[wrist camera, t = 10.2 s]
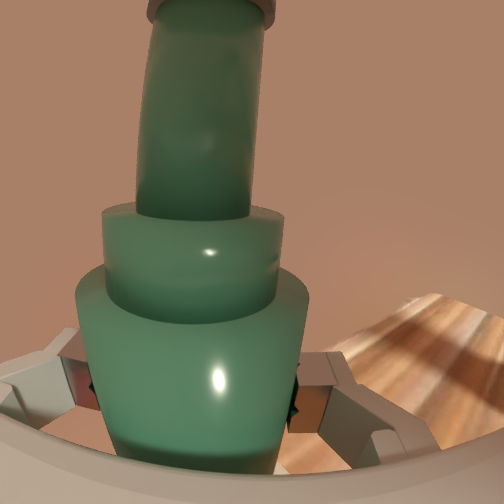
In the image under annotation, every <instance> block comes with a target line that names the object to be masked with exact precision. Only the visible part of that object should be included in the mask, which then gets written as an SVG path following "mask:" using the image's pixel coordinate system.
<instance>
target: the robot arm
mask: <svg viewBox="0 0 504 504" xmlns="http://www.w3.org/2000/svg"><path fill="white" fill-rule="evenodd" d="M76 405H78V406H82V407H86V408H90V409H94V410H98V411H100V410H101V409H100V406H99V402H98V399H97V396H96V392H95V389H94V385H93V381H92V378H91V374H90V370H89V366H88V362H87V358H86V353H85V349H84V344H83V340H82V335H81V330H80V329H79V328H73V327H66V328H65V329H64V330H63V331H62V332H61V333H60V334H59V335H58V336H57V337H56V338H55V339H54V340H53V341H52V342H51V343H50V344H49V345H48V346H47V347H46V348H45V350H43V351H36V352H33V353H30V354H27V355H24V356H21V357H18V358H15V359H12V360H9V361H6V362H3V363H0V504H504V428H501V429H499V430H497V431H494V432H492V433H489V434H487V435H484V436H482V437H479V438H476V439H474V440H471V441H468V442H465V443H462V444H460V445H457V446H453V447H450V448H447V449H444V450H441V449H440V447H439V445H438V443H437V442H436V440H435V438H434V436H433V435H432V433H431V431H430V430H429V428H428V426H427V424H426V423H425V421H423V420H421V419H419V418H418V417H416V416H414V415H412V414H411V413H409V412H407V411H406V410H404V409H402V408H400V407H399V406H397V405H395V404H394V403H392V402H390V401H389V400H387V399H385V398H384V397H382V396H380V395H379V394H377V393H375V392H374V391H372V390H370V389H369V388H367V387H365V386H364V385H362V384H359V385H357V383H356V381H355V379H354V377H353V375H352V372H351V370H350V368H349V366H348V364H347V362H346V360H345V357H344V355H343V353H342V352H340V351H338V352H314V353H313V352H312V353H310V352H309V353H300V356H299V362H298V367H297V372H296V377H295V382H294V387H293V392H292V397H291V402H290V406H289V411H288V415H287V420H286V421H287V428H288V433H318V435H319V436H320V437H321V438H322V439H323V440H324V441H325V442H326V443H327V444H328V445H329V446H330V447H331V448H332V449H333V450H334V451H335V452H336V453H337V454H338V455H339V456H340V457H341V458H342V459H343V460H344V461H345V462H346V463H347V464H348V465H349V466H350V467H351V468H352V469H350V470H342V471H333V472H322V473H308V474H283V475H257V474H232V473H218V472H207V471H198V470H190V469H182V468H175V467H169V466H163V465H157V464H152V463H147V462H142V461H137V460H133V459H128V458H124V457H120V456H116V455H112V454H108V453H105V452H101V451H98V450H94V449H91V448H87V447H84V446H81V445H78V444H75V443H72V442H69V441H66V440H63V439H60V438H58V437H55V436H53V435H50V434H47V433H45V432H42V431H40V430H39V429H40V428H42V427H44V426H45V425H47V424H48V423H50V422H51V421H53V420H55V419H56V418H58V417H59V416H61V415H63V414H64V413H66V412H67V411H69V410H70V409H72V408H74V407H75V406H76Z"/></svg>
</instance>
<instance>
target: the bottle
mask: <svg viewBox="0 0 504 504" xmlns="http://www.w3.org/2000/svg"><path fill="white" fill-rule="evenodd" d="M275 9H276V0H149V3H148V8H147V18H148V20H149V21H150V22H151V23H152V24H153V28H152V34H151V39H150V45H149V51H148V58H147V63H146V70H145V77H144V85H143V94H142V103H141V112H140V123H139V136H138V151H137V171H136V202H131V203H125V204H120V205H116V206H112V207H109V208H107V209H105V210H104V211H103V212H102V236H103V256H104V264H102V265H100V266H98V267H96V268H95V269H93V270H91V271H90V272H89V273H87V274H86V275H85V276H84V277H83V278H82V279H81V281H80V282H79V283H78V285H77V287H76V291H75V300H76V307H77V313H78V319H79V324H80V330H81V335H82V340H83V344H84V349H85V353H86V358H87V362H88V366H89V370H90V374H91V378H92V381H93V385H94V389H95V392H96V396H97V399H98V402H99V406H100V409H101V411H102V415H103V418H104V421H105V424H106V427H107V430H108V433H109V435H110V438H111V441H112V443H113V446H114V449H115V451H116V454H117V456H120V457H124V458H128V459H133V460H137V461H142V462H147V463H152V464H157V465H163V466H169V467H175V468H182V469H190V470H198V471H207V472H218V473H232V474H257V475H273V474H274V470H275V466H276V462H277V458H278V454H279V450H280V446H281V442H282V437H283V433H284V429H285V424H286V420H287V415H288V411H289V406H290V402H291V397H292V392H293V387H294V382H295V377H296V372H297V367H298V362H299V356H300V351H301V345H302V340H303V334H304V328H305V322H306V316H307V310H308V304H309V293H308V291H307V288H306V286H305V285H304V284H303V283H302V282H301V280H299V279H298V278H297V277H296V276H295V275H293V274H291V273H290V272H288V271H286V270H284V269H283V268H281V267H279V266H280V256H281V247H282V237H283V226H284V216H283V215H281V214H280V213H278V212H276V211H273V210H270V209H266V208H262V207H257V206H253V205H251V196H252V182H253V169H254V156H255V143H256V130H257V116H258V104H259V90H260V79H261V67H262V54H263V41H264V31H265V30H267V29H269V28H270V27H271V26H272V25H273V23H274V19H275Z"/></svg>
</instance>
